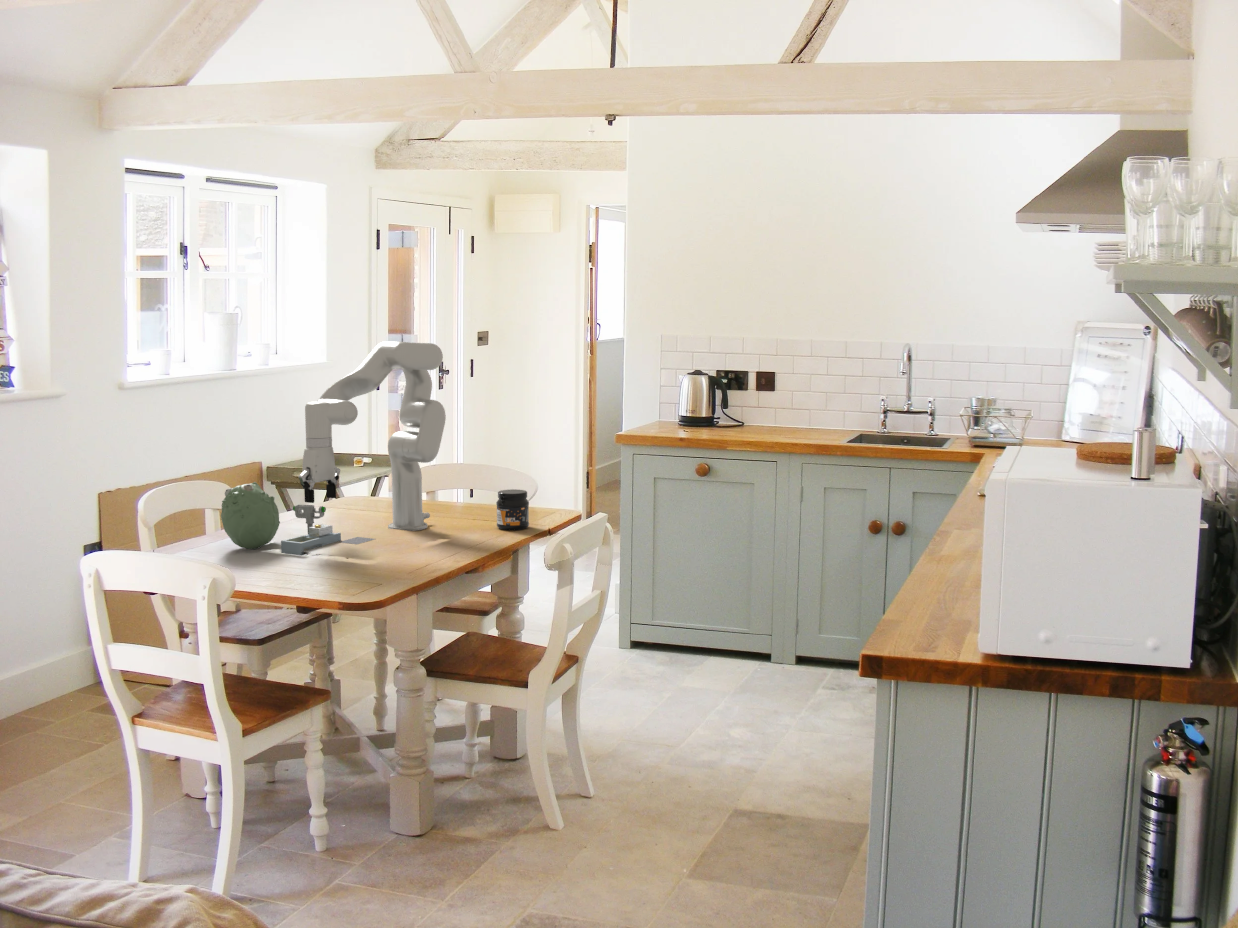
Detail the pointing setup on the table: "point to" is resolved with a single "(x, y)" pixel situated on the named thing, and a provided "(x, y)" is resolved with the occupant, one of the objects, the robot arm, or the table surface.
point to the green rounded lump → (249, 516)
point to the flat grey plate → (357, 540)
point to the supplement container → (512, 510)
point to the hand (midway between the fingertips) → (320, 500)
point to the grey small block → (320, 531)
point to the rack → (306, 543)
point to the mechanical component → (308, 513)
